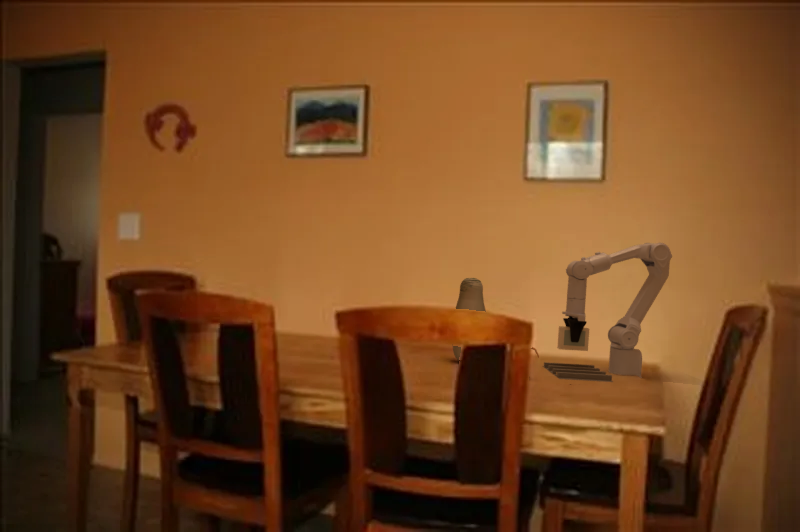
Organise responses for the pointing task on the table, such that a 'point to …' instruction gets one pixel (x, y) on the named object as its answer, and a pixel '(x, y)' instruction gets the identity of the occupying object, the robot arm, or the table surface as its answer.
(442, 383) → the table surface
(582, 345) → the picture frame
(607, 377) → the ridged panel
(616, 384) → the table surface
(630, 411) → the table surface
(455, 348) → the grey tall rounded piece
